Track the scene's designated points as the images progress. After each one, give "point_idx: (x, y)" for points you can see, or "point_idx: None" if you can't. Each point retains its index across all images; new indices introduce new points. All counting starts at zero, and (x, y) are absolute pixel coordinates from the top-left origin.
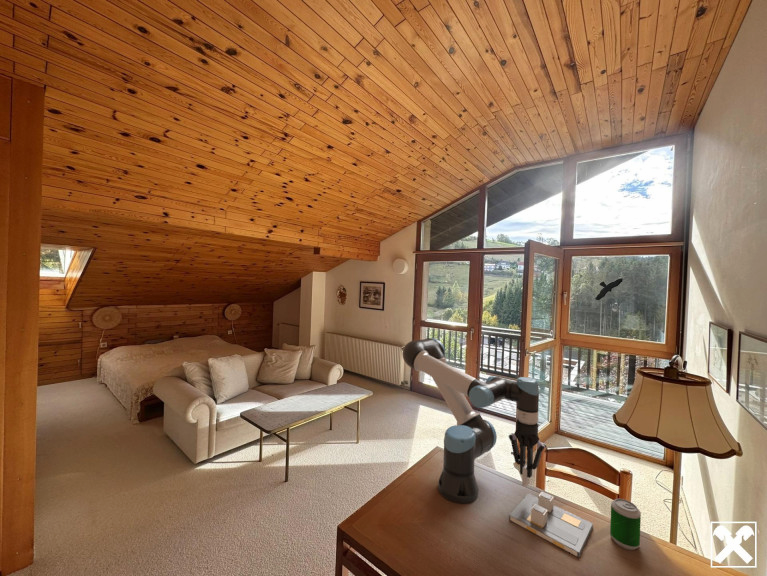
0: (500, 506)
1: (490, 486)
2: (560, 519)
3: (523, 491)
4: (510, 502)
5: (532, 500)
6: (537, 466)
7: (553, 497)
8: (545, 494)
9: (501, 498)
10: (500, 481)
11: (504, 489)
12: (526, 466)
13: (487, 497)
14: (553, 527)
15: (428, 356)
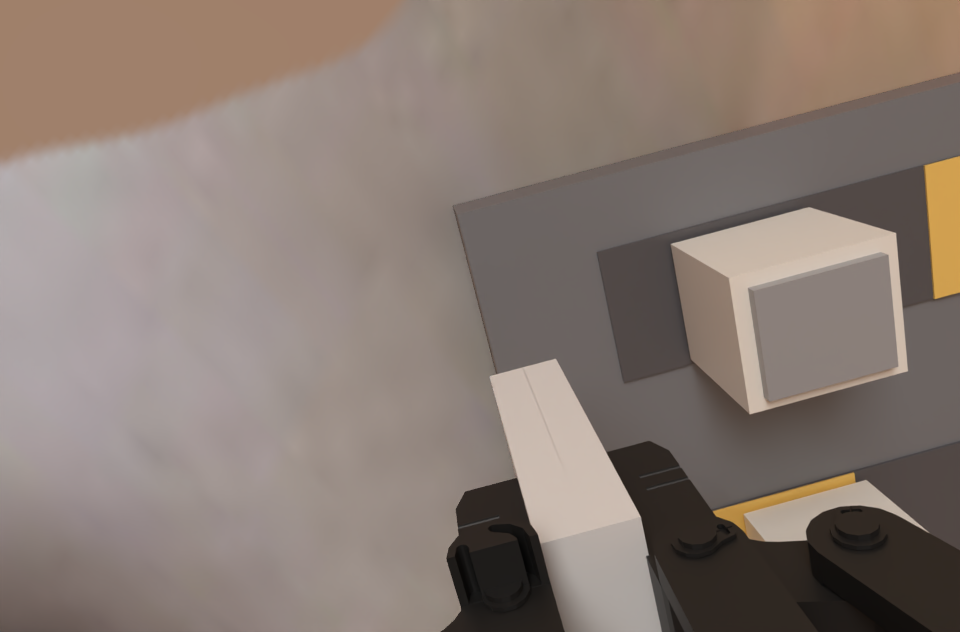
0: (402, 611)
1: (71, 455)
2: (928, 303)
3: (339, 147)
4: (409, 472)
5: (577, 299)
6: (902, 535)
7: (894, 246)
8: (812, 319)
9: (311, 508)
10: (27, 248)
11: (195, 344)
12: (606, 593)
13: (227, 628)
14: (931, 480)
15: None
